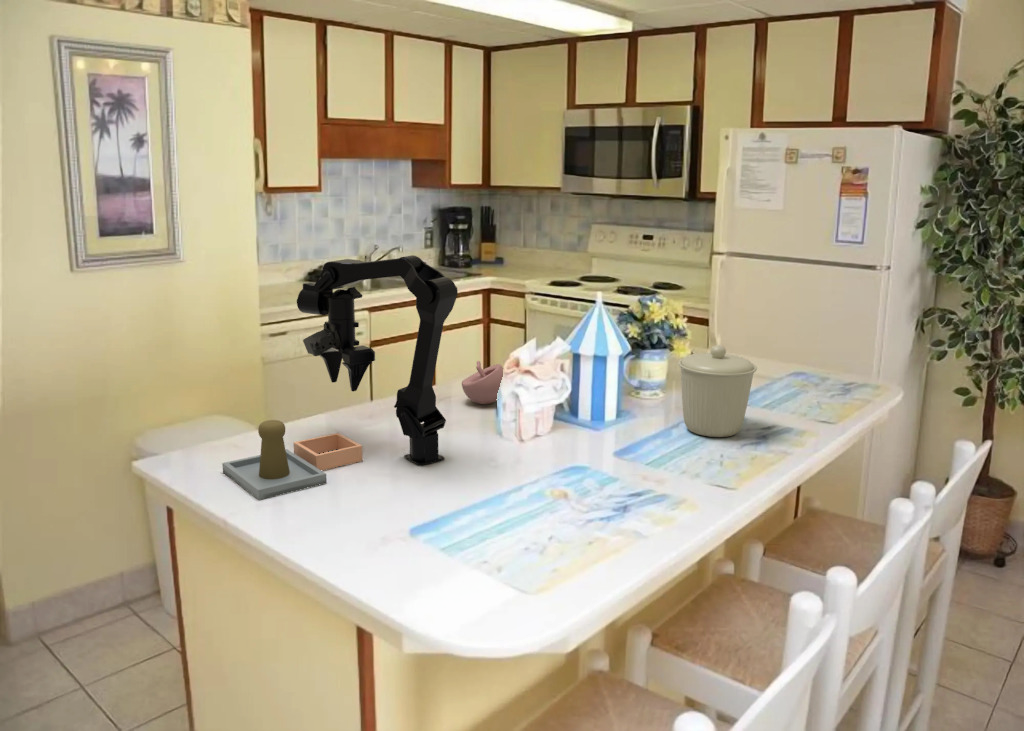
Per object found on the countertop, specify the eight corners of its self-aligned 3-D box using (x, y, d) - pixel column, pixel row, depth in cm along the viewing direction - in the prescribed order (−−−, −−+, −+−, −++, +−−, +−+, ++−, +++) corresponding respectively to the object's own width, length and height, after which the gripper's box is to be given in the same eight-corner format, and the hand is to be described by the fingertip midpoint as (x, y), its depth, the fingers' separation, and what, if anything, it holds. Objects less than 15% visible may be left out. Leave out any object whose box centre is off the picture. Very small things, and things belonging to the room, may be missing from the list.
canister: (716, 448, 192) (723, 357, 187) (658, 427, 206) (663, 342, 201) (767, 434, 202) (775, 348, 197) (708, 415, 217) (714, 334, 211)
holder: (362, 461, 181) (362, 445, 180) (316, 472, 174) (316, 456, 173) (338, 447, 189) (338, 432, 188) (294, 457, 182) (293, 442, 181)
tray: (326, 483, 168) (326, 473, 168) (258, 500, 160) (258, 490, 159) (287, 458, 182) (286, 449, 181) (222, 472, 173) (222, 463, 173)
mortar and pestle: (463, 396, 230) (463, 355, 227) (508, 397, 230) (508, 356, 227) (459, 409, 218) (459, 366, 216) (505, 410, 218) (506, 367, 215)
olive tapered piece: (274, 466, 175) (271, 415, 172) (296, 472, 172) (293, 420, 169) (252, 475, 170) (248, 422, 167) (274, 481, 167) (271, 428, 164)
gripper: (288, 315, 188) (291, 383, 191) (327, 328, 174) (330, 402, 177) (334, 309, 195) (336, 375, 198) (375, 322, 181) (377, 393, 184)
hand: (343, 386), depth 189 cm, fingers open, 9 cm apart
